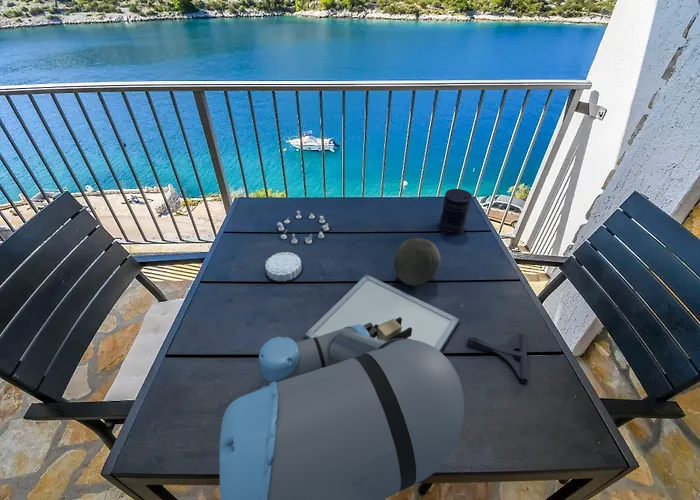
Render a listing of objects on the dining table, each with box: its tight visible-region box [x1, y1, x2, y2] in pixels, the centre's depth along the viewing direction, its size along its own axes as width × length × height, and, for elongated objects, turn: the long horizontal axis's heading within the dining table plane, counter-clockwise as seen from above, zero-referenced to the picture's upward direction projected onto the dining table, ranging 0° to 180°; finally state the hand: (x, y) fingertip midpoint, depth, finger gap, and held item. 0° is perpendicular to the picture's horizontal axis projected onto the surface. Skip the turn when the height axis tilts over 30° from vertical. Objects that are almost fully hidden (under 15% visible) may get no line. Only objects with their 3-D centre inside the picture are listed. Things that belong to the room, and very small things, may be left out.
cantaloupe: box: [393, 237, 442, 287], centre depth 110 cm, size 14×14×15 cm
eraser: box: [377, 318, 402, 341], centre depth 87 cm, size 10×5×10 cm, turn 124°
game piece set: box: [276, 210, 330, 245], centre depth 136 cm, size 19×20×4 cm
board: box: [304, 274, 460, 352], centre depth 98 cm, size 30×32×2 cm
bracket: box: [467, 333, 529, 383], centre depth 92 cm, size 14×15×3 cm
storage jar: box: [438, 188, 473, 236], centre depth 133 cm, size 10×10×15 cm
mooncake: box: [264, 251, 302, 282], centre depth 118 cm, size 12×12×4 cm
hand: (405, 326), depth 88 cm, fingers closed on eraser, 3 cm apart
